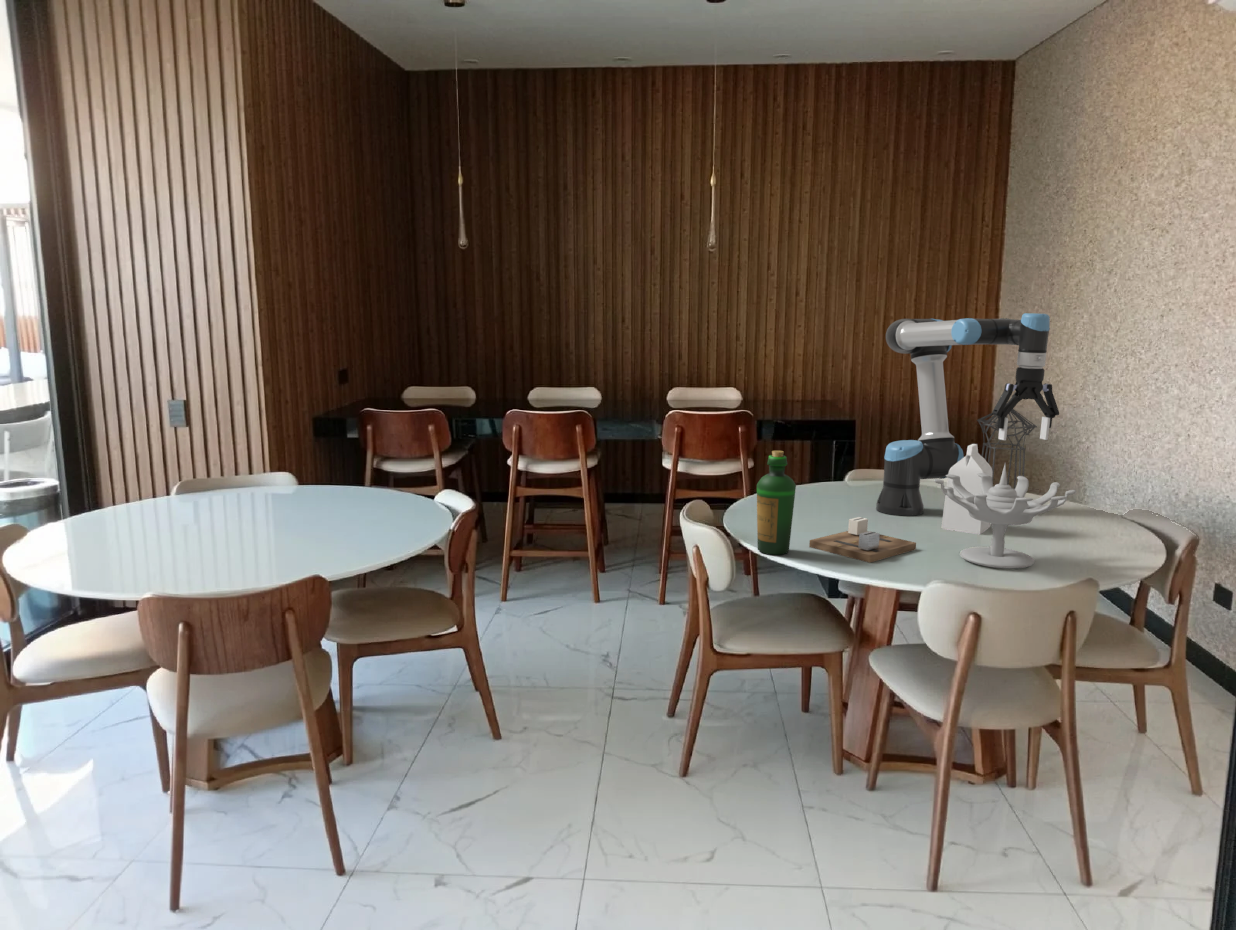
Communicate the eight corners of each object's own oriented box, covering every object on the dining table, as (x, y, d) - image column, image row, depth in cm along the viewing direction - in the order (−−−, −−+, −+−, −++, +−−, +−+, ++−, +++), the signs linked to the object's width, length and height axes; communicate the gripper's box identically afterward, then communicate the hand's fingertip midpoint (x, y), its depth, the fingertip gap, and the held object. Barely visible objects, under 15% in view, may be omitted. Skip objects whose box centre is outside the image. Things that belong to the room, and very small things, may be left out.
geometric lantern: (968, 503, 318) (976, 403, 312) (1014, 505, 317) (1024, 405, 311) (981, 513, 303) (990, 408, 297) (1030, 515, 301) (1040, 410, 295)
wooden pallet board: (809, 546, 257) (809, 539, 257) (855, 535, 271) (856, 528, 271) (869, 562, 242) (870, 555, 242) (915, 549, 256) (916, 542, 256)
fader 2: (858, 548, 247) (859, 533, 247) (869, 545, 251) (870, 530, 250) (867, 550, 245) (868, 535, 244) (878, 547, 248) (879, 532, 248)
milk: (952, 521, 291) (958, 441, 287) (989, 527, 284) (997, 444, 280) (941, 528, 281) (947, 445, 277) (979, 534, 275) (987, 449, 270)
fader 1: (848, 532, 264) (848, 519, 263) (858, 530, 267) (859, 516, 267) (856, 534, 262) (857, 521, 261) (867, 532, 265) (868, 518, 264)
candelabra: (913, 565, 241) (921, 463, 236) (947, 538, 269) (955, 447, 265) (1054, 588, 222) (1066, 479, 217) (1075, 557, 251) (1085, 460, 246)
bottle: (751, 546, 257) (755, 448, 252) (789, 546, 257) (794, 448, 252) (756, 556, 247) (760, 454, 242) (795, 557, 246) (800, 455, 242)
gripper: (999, 368, 259) (991, 441, 263) (1077, 368, 263) (1069, 441, 267) (984, 365, 266) (977, 437, 270) (1060, 366, 270) (1052, 437, 274)
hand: (1023, 439), depth 269 cm, fingers open, 13 cm apart
